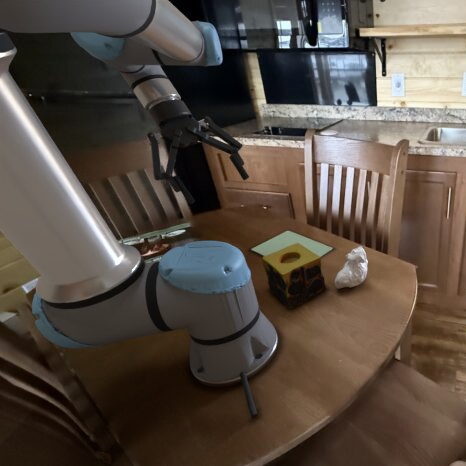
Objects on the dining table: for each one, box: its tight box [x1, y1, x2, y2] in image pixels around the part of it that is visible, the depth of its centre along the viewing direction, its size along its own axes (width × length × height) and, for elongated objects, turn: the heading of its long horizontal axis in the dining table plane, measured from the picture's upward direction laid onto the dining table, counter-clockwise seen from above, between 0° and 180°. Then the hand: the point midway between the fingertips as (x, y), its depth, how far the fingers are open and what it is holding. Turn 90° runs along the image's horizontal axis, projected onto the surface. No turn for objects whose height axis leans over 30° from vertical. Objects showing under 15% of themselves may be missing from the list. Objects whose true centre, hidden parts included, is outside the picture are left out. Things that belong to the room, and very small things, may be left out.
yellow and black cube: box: [261, 243, 327, 309], centre depth 76 cm, size 10×10×10 cm
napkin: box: [250, 230, 334, 258], centre depth 94 cm, size 20×14×1 cm
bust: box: [334, 245, 369, 290], centre depth 79 cm, size 12×8×11 cm
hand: (221, 190), depth 76 cm, fingers open, 13 cm apart
